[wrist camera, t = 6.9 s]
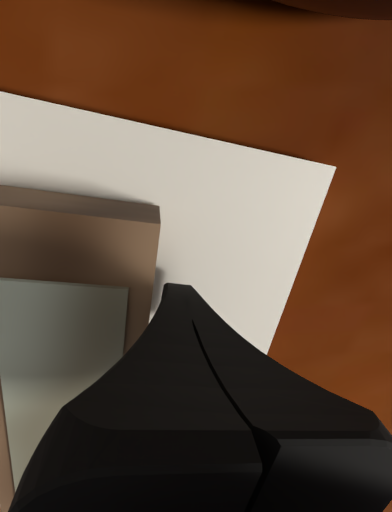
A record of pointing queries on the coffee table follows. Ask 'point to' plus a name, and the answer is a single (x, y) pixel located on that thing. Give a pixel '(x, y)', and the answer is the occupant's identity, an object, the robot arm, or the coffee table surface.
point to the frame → (65, 306)
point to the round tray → (346, 8)
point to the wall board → (180, 201)
